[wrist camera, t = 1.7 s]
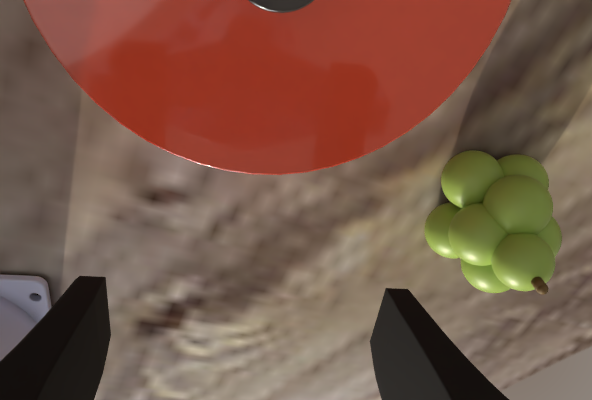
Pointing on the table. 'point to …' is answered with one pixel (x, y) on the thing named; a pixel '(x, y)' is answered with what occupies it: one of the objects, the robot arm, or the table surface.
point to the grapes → (497, 222)
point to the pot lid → (268, 71)
